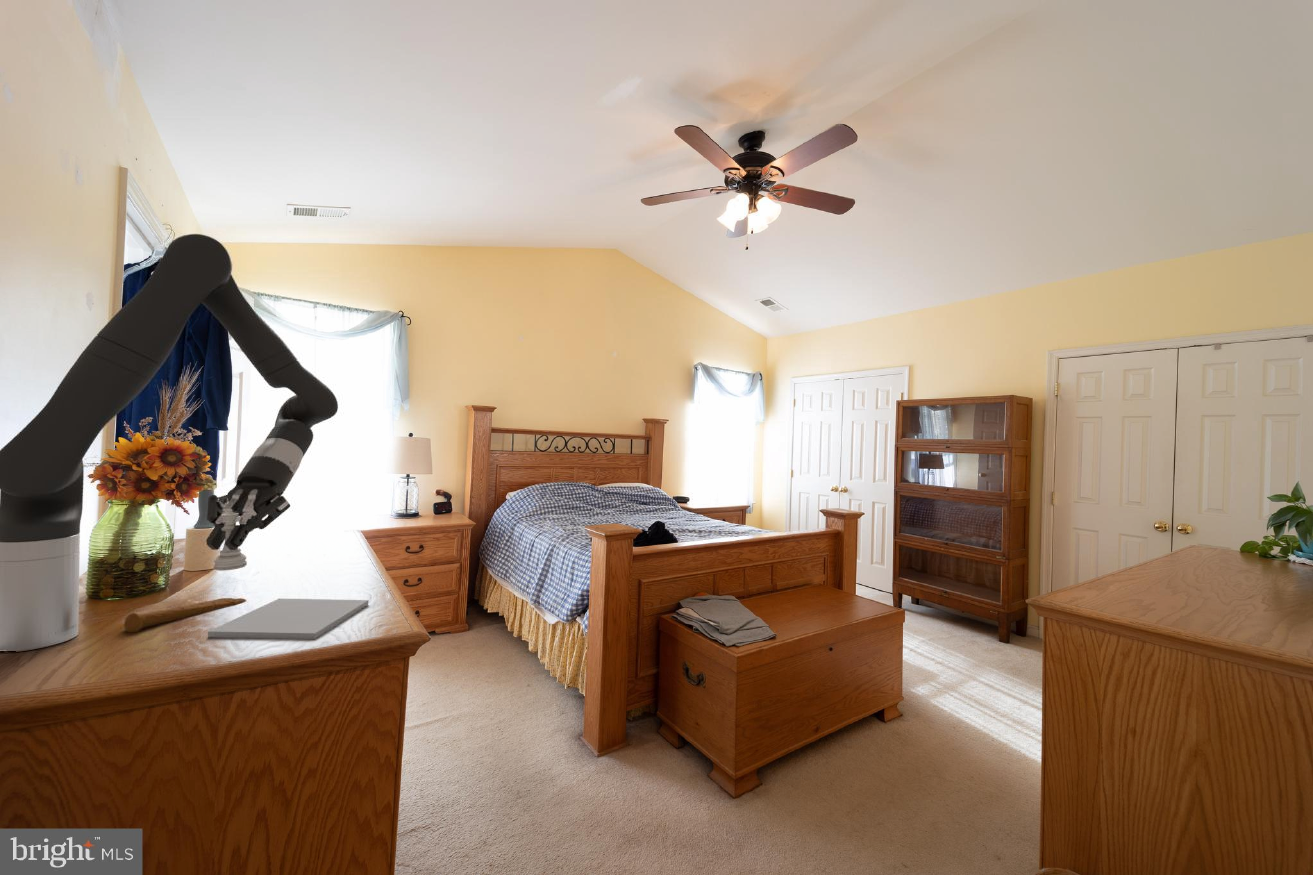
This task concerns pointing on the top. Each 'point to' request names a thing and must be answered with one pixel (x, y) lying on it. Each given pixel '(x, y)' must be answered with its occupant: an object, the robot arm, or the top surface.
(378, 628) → the top surface
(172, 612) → the primitive tool
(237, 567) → the chess piece
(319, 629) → the slate tile
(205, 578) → the top surface
